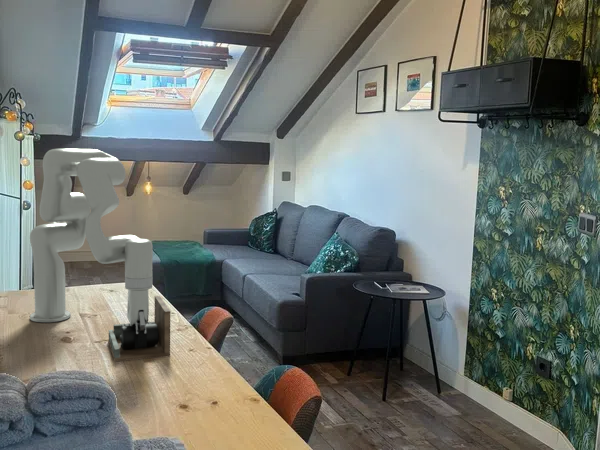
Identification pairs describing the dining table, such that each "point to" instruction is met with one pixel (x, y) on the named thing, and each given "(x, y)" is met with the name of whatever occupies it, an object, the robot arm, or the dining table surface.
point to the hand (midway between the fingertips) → (138, 342)
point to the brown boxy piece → (147, 352)
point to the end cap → (130, 331)
